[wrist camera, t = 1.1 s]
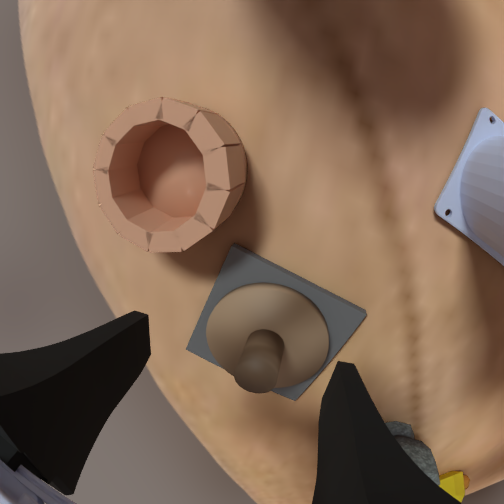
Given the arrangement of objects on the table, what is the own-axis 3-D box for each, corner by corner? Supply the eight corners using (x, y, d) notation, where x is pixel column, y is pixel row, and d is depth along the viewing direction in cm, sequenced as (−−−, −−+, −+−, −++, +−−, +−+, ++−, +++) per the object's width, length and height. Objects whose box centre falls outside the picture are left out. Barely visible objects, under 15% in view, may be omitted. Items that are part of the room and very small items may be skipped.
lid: (352, 317, 19) (357, 360, 15) (292, 393, 23) (284, 435, 19) (237, 259, 20) (214, 292, 16) (196, 348, 23) (173, 385, 19)
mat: (365, 309, 20) (366, 314, 19) (295, 395, 24) (295, 400, 23) (234, 242, 20) (231, 245, 19) (188, 344, 24) (185, 349, 23)
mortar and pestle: (324, 428, 25) (311, 540, 14) (419, 396, 21) (441, 514, 10) (359, 473, 27) (355, 559, 16) (435, 449, 24) (447, 537, 13)
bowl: (269, 135, 17) (256, 133, 13) (216, 252, 20) (194, 277, 17) (154, 90, 17) (119, 82, 14) (117, 200, 21) (82, 214, 17)
